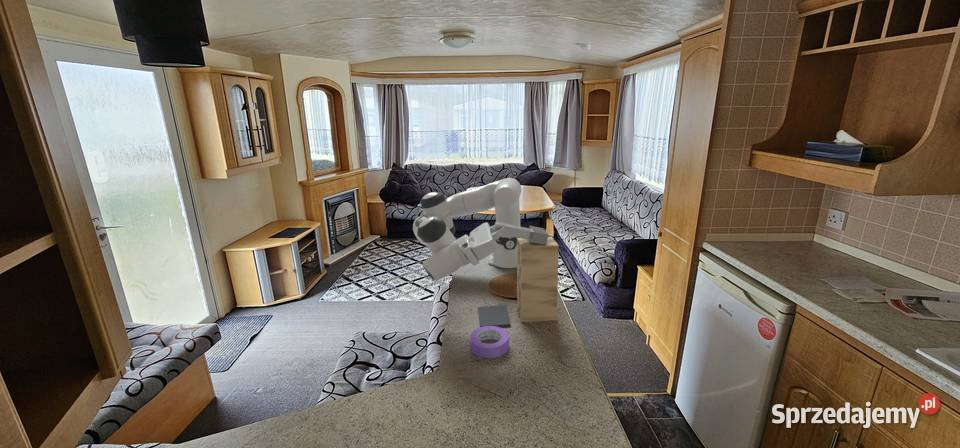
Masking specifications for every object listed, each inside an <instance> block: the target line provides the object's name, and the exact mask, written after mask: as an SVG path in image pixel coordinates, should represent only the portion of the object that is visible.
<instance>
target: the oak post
mask: <svg viewBox="0 0 960 448" xmlns="http://www.w3.org/2000/svg"><path fill="white" fill-rule="evenodd" d="M559 246H560V245H559V244H558V243H557V241H556V240H555V239H554V237H553V236H548V239H547V243H546V245H543V244H538V243H533V242H531V241H530V240H527V239H522V238H517V267H516V283H517V284H516V294H517V295H516V299H517V300H516V303H517V304H516V309H517V314H518V316H519V318H520V322H521V323H528V322H529V323H532V322H534V323H535V322H548V321H549V322H550V321H557V315H558V314H557V309H558V281H559V278H558V277H559V250H560V249H559V248H560V247H559Z"/></svg>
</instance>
